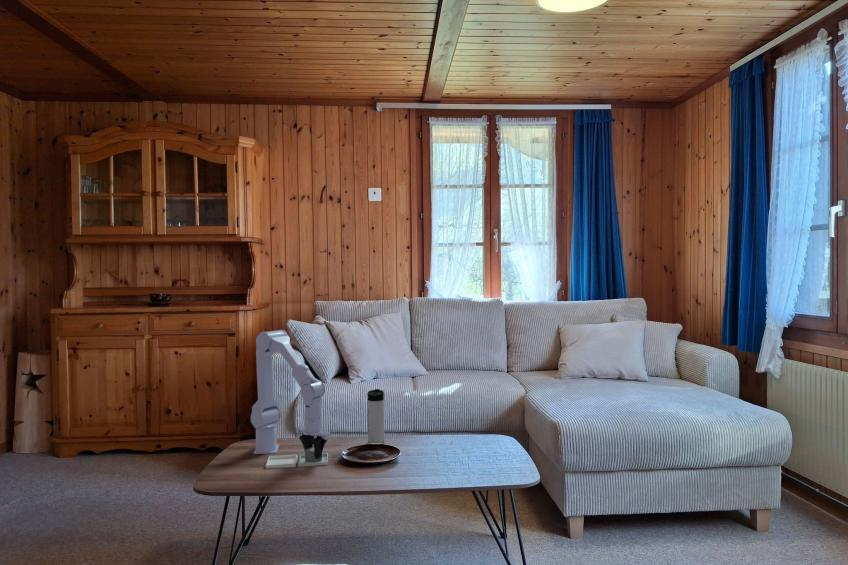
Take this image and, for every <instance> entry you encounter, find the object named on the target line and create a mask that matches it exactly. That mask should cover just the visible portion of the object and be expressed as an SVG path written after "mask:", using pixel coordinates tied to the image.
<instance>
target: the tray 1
mask: <svg viewBox="0 0 848 565" xmlns="http://www.w3.org/2000/svg"><path fill="white" fill-rule="evenodd" d="M298 458H299V456H298V454H284V455H269V456H268V458H267V461H266V464H265V469H267V470H268V469H284V468H296V466H297V461H298Z"/></svg>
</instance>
